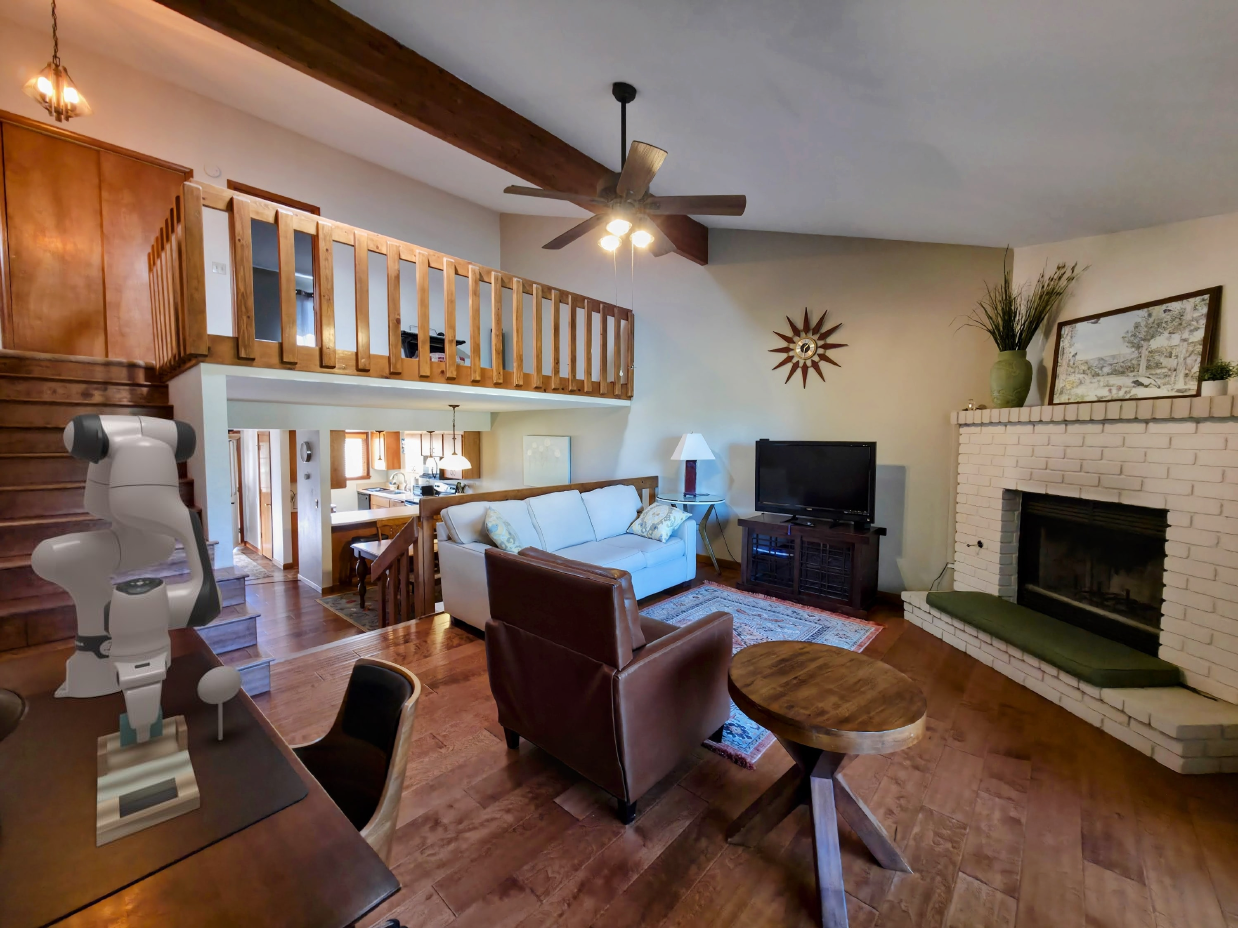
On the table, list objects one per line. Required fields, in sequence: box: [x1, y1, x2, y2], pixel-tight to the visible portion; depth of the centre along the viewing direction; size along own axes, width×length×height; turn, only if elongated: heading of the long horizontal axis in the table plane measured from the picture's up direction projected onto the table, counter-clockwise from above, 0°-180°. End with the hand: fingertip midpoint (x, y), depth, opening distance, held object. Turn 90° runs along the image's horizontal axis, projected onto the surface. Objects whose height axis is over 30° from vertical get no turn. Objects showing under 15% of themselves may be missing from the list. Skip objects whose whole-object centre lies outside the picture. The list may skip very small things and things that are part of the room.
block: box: [119, 704, 163, 747], centre depth 101 cm, size 5×6×4 cm
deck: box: [96, 714, 201, 848], centre depth 92 cm, size 35×12×6 cm, turn 46°
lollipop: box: [197, 665, 243, 741], centre depth 103 cm, size 7×7×15 cm
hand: (141, 730), depth 100 cm, fingers open, 8 cm apart
